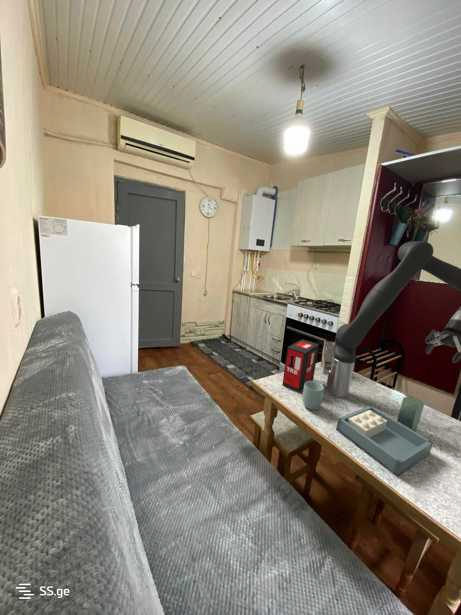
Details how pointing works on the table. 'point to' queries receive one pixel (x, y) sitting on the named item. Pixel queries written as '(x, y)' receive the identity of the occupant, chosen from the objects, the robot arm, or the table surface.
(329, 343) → the coffee box
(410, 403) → the tea tin
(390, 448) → the tray
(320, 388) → the cup
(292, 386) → the cleaning product box
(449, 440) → the table surface
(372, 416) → the egg carton
